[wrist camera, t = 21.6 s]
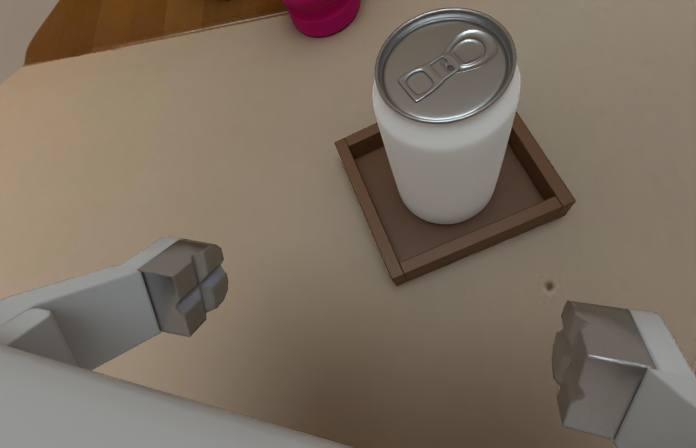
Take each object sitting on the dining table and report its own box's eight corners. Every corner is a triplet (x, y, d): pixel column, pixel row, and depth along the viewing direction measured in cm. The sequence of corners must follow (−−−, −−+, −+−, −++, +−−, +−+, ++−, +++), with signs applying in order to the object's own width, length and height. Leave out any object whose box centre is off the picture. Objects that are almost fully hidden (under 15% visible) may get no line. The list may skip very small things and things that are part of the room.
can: (516, 191, 26) (566, 67, 15) (432, 245, 26) (419, 163, 15) (457, 123, 28) (462, -26, 17) (381, 173, 28) (337, 57, 17)
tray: (485, 92, 29) (489, 69, 27) (564, 215, 25) (576, 200, 23) (342, 158, 30) (334, 142, 28) (396, 286, 26) (391, 279, 24)
